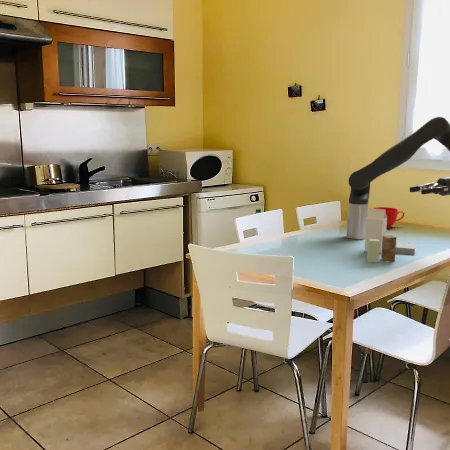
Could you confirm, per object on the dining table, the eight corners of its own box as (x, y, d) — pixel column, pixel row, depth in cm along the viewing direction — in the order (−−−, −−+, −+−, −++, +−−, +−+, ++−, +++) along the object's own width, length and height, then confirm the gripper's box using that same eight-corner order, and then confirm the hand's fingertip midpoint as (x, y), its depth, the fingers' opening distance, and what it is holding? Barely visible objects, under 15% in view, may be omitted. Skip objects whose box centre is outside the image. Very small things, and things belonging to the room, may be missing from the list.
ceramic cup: (407, 229, 279) (408, 211, 277) (375, 229, 279) (376, 210, 277) (399, 224, 291) (400, 207, 289) (369, 224, 291) (370, 207, 290)
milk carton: (380, 254, 227) (383, 210, 223) (364, 251, 230) (366, 209, 227) (384, 250, 232) (387, 208, 229) (369, 248, 236) (371, 207, 232)
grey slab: (392, 253, 229) (392, 247, 228) (392, 249, 237) (393, 242, 236) (414, 255, 226) (414, 248, 225) (413, 250, 234) (414, 244, 234)
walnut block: (385, 261, 214) (387, 237, 212) (381, 259, 218) (382, 235, 216) (394, 261, 215) (396, 237, 213) (389, 258, 219) (391, 235, 217)
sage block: (368, 262, 213) (369, 240, 211) (366, 259, 217) (368, 238, 215) (378, 262, 212) (379, 241, 211) (376, 260, 216) (378, 239, 214)
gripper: (440, 175, 223) (405, 180, 220) (461, 177, 209) (425, 183, 206) (441, 192, 225) (406, 198, 222) (462, 196, 211) (426, 201, 208)
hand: (415, 190), depth 214 cm, fingers open, 8 cm apart
